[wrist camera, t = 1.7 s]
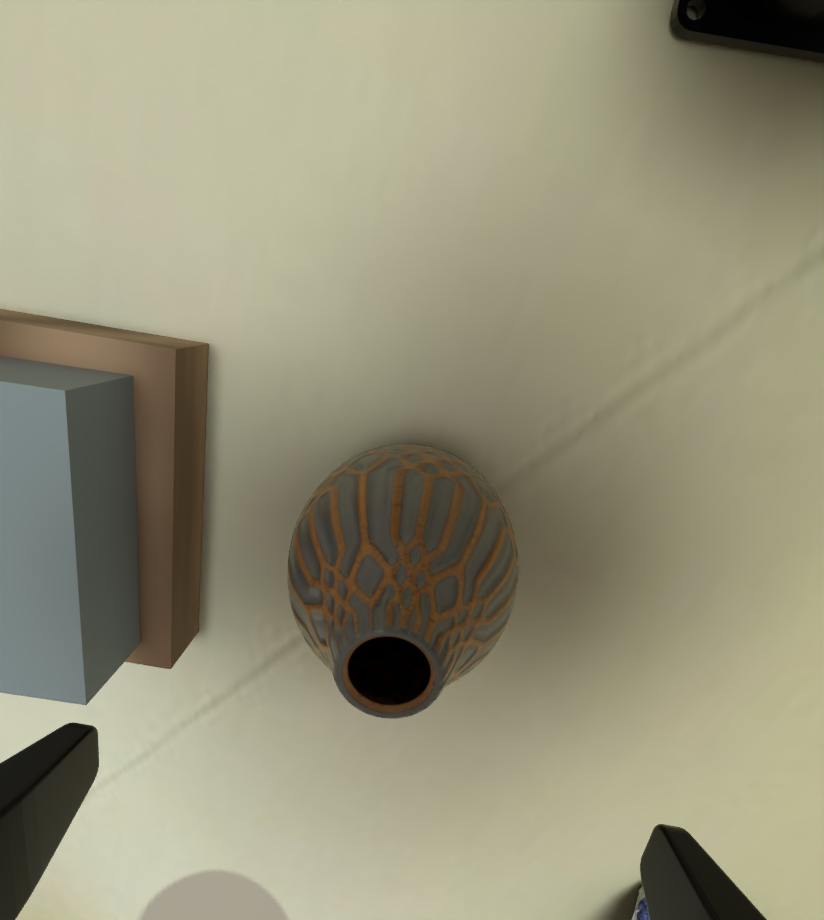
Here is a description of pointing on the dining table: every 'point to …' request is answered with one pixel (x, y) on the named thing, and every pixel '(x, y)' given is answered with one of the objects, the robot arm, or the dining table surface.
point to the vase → (402, 575)
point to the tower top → (66, 529)
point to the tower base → (146, 459)
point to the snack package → (641, 907)
